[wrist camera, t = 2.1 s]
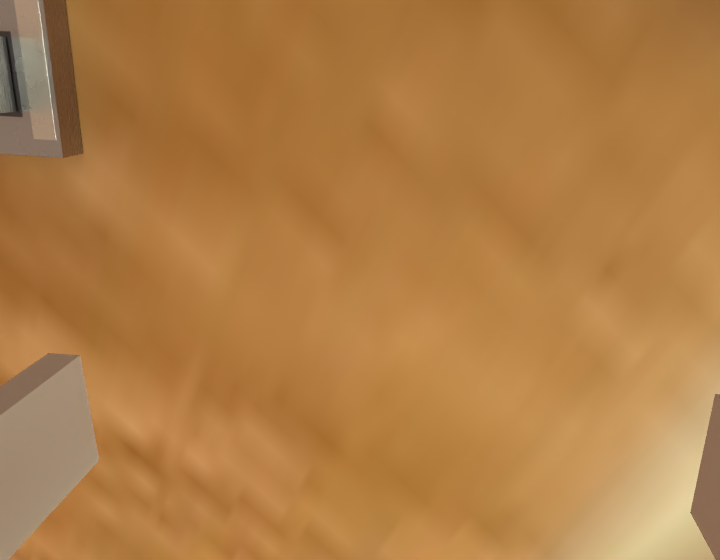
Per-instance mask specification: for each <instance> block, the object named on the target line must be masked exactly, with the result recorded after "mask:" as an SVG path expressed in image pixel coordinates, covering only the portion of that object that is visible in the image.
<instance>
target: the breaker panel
mask: <svg viewBox="0 0 720 560" xmlns="http://www.w3.org/2000/svg"><path fill="white" fill-rule="evenodd" d="M0 154H12V155H27V156H41V157H56V158H65V157H70V156H74V155H79V154H83V149H82V140H81V131H80V123H79V114H78V105H77V97H76V88H75V79H74V71H73V62H72V53H71V45H70V36H69V27H68V19H67V10H66V1H65V0H0Z"/></svg>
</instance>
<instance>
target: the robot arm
mask: <svg viewBox="0 0 720 560" xmlns="http://www.w3.org/2000/svg"><path fill="white" fill-rule="evenodd" d="M98 461H99V457H98V451H97V446H96V440H95V435H94V429H93V424H92V418H91V413H90V407H89V402H88V396H87V391H86V385H85V380H84V374H83V369H82V363H81V358H80V355H67V354H51V353H48V354H47V355H45V356H44V357H43V358H41V359H40V360H38V361H37V362H35V363H34V364H32V365H31V366H29V367H28V368H27V369H25V370H24V371H22V372H21V373H19V374H18V375H16V376H15V377H14V378H12V379H11V380H9V381H8V382H6V383H5V384H3V385H2V386H1V387H0V560H8V559H9V558H10V557H11V556H12V555H13V554H14V553H15V552H16V551H17V549H18V548H19V547H20V546H21V545H22V544H23V543H24V542H25V541H26V540H27V539H28V537H29V536H30V535H31V534H32V533H33V532H34V531H35V530H36V529H37V528H38V527H39V525H40V524H41V523H42V522H43V521H44V520H45V519H46V518H47V517H48V516H49V515H50V513H51V512H52V511H53V510H54V509H55V508H56V507H57V506H58V505H59V504H60V503H61V501H62V500H63V499H64V498H65V497H66V496H67V495H68V494H69V493H70V492H71V491H72V489H73V488H74V487H75V486H76V485H77V484H78V483H79V482H80V481H81V480H82V479H83V477H84V476H85V475H86V474H87V473H88V472H89V471H90V470H91V469H92V468H93V467H94V465H95V464H96V463H97V462H98ZM690 513H691V514H692V516H693V518H694V520H695V522H696V524H697V526H698V527H699V529H700V531H701V533H702V535H703V537H704V539H705V540H706V542H707V544H708V546H709V548H710V550H711V552H712V553H713V555H714V557H715V559H716V560H720V394H715V397H714V402H713V407H712V412H711V416H710V421H709V426H708V431H707V436H706V440H705V445H704V450H703V455H702V460H701V464H700V469H699V474H698V479H697V484H696V488H695V493H694V498H693V503H692V508H691V512H690Z"/></svg>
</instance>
